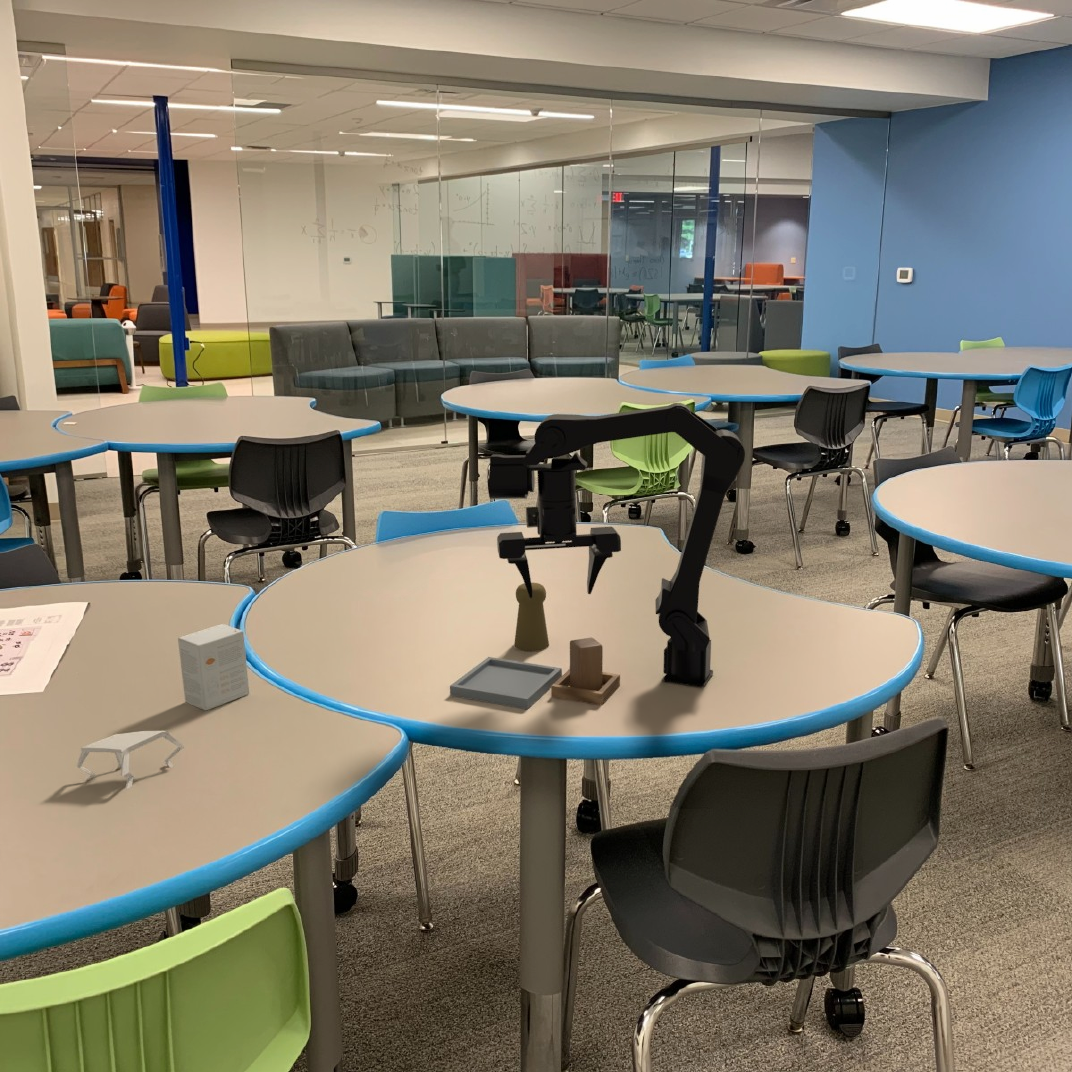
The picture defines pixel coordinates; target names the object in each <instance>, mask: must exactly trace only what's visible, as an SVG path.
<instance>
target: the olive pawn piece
mask: <svg viewBox="0 0 1072 1072" xmlns="http://www.w3.org/2000/svg"><path fill="white" fill-rule="evenodd" d="M531 584H532V598H530V597H529V594H528V591H527V589H526V586H525V583H522V584H520V585H518V586H517V588H516V589H515V598H516V601H517V603H518V611H517V619H516V627H515V634H514V635H515V636H514V645H513V647H514V649H516V650H518V651H523V652H539V651H543V650H546V649H548V648H549V646H550V643H549V634H548V628H547V622H546V614H545V607H544V602H545V600H546V598H547V591H546V588H545V586H544V585H543V584H541V583H538V582H531Z"/></svg>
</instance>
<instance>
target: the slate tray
mask: <svg viewBox="0 0 1072 1072" xmlns="http://www.w3.org/2000/svg"><path fill="white" fill-rule="evenodd" d="M561 676H563V668H562V667H555V666H549V665H543V664H537V663H531V662H530V663H529V662H524V661H517V660H512V659H511V660H510V659H504V658H497V657H492V656H487V657H486V658H484V659H483V660H482V661H481V662H479V664H477V665H476V666H474V667H473V668H472V669H470V670H469V671H468V672H467V673H465V674H464V675H462V676H461V677H459V679H457V680H456V681H454V682H453V683H452V684H450V685H449V695H450V697H456V698H463V699H467V700H472V701H478V702H479V701H480V702H485V703H491V704H496V705H501V706H507V707H511V708H512V707H514V708H519V709H524V710H528V709H530V708H531V707H532V706H533V705H534V704H535V703H536V702H538V700H540V698H542V697H543V696H544V695H545V694H546V693H547V692H548V691H549V690H551V686H552V685H553V684H554V683H555V682H556V681H557V680H558V679H559V678H560V677H561Z"/></svg>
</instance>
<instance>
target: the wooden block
mask: <svg viewBox="0 0 1072 1072" xmlns="http://www.w3.org/2000/svg"><path fill="white" fill-rule="evenodd" d="M603 650H604V649H603V644H601V643H600V642H599V641H598V640H596V639H595V637H586V638H579V639H572V640H570V641H569V669H570V685H569V687H575V688H581V689H588V690H594V691H599V690H600V689H601V688H602V687H603V685H602V672H603Z"/></svg>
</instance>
